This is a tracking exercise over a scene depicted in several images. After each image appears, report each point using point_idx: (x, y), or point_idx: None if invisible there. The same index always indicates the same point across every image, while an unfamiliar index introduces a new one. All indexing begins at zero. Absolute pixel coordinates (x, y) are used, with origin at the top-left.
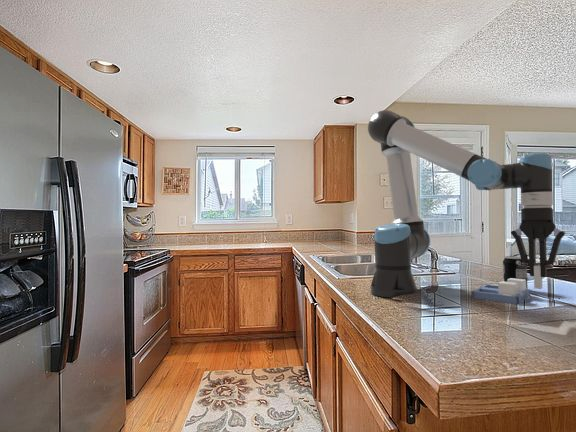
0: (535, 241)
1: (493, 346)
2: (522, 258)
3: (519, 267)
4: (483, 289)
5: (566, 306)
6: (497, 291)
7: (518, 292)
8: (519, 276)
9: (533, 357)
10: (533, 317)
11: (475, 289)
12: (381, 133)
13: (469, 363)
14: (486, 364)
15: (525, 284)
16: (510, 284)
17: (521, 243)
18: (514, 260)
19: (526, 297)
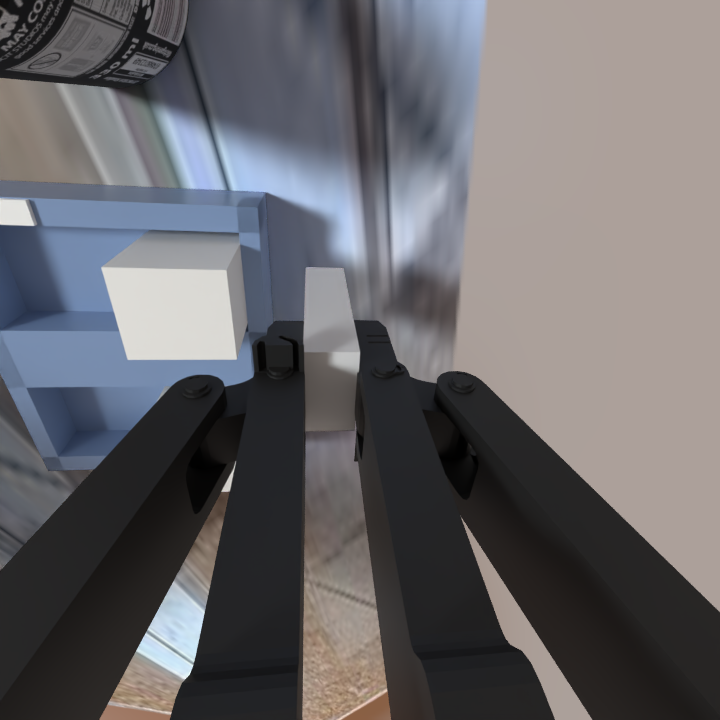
0: (298, 674)
1: (321, 664)
2: (187, 484)
3: (32, 47)
4: (46, 385)
5: (443, 246)
6: (132, 384)
7: (236, 362)
8: (94, 61)
9: (380, 663)
10: (344, 491)
11: (26, 423)
12: None
13: (315, 706)
14: (333, 700)
15: (234, 269)
16: (222, 491)
17: (93, 716)
18: None
19: (269, 309)
